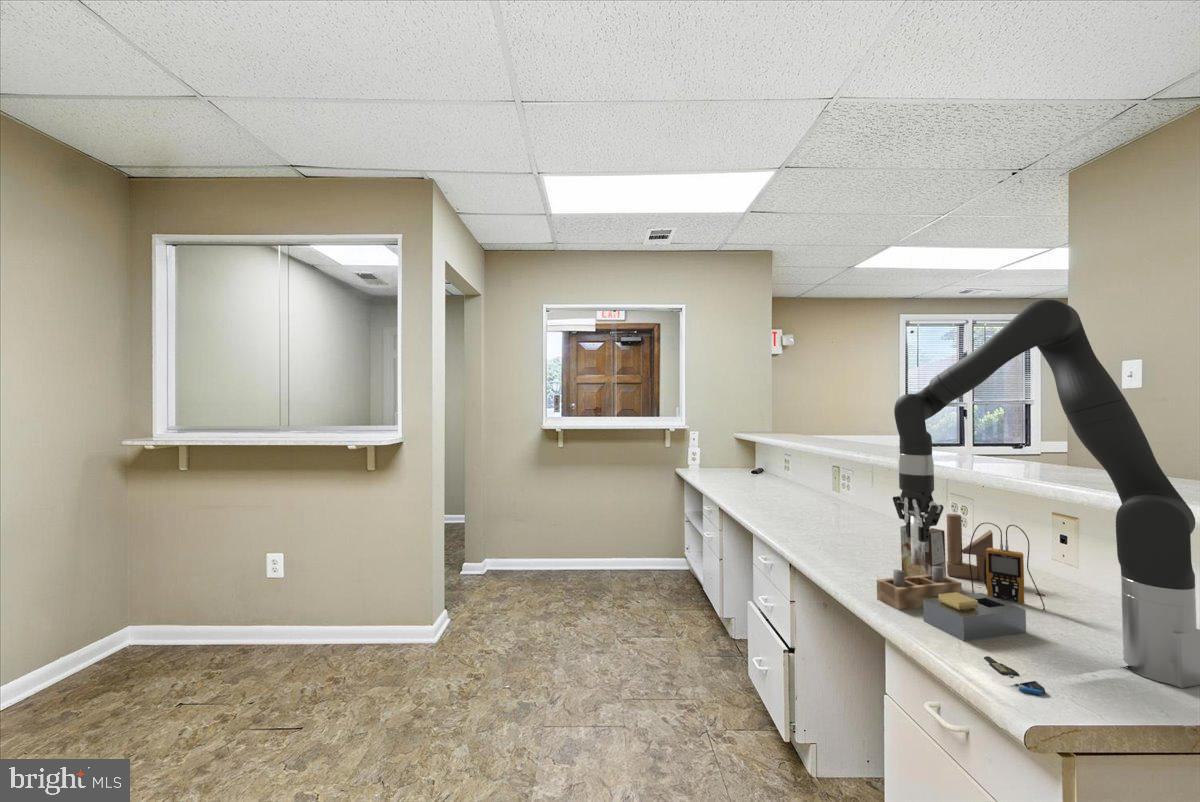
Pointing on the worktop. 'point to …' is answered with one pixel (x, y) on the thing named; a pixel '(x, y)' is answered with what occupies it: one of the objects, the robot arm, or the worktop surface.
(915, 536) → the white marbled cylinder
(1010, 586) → the multimeter
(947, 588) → the bit rack
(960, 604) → the yellow square-headed peg
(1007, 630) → the tool block
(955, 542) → the wooden block
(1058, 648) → the worktop surface
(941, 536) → the coffee box
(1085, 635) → the worktop surface
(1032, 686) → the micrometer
